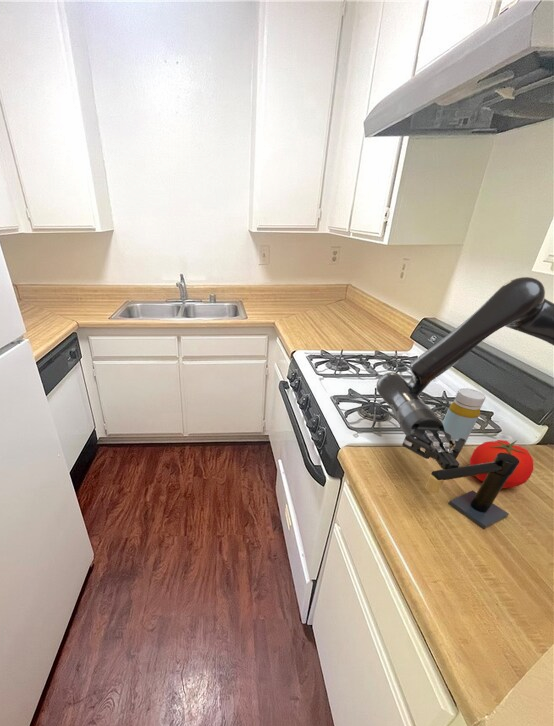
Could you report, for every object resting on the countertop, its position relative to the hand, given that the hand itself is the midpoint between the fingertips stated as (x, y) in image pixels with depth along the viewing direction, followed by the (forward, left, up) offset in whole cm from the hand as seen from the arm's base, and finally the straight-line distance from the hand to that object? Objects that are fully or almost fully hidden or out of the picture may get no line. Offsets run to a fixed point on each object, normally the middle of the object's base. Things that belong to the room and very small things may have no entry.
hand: (452, 468), depth 66 cm
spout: (-3, +2, -3) cm, 5 cm away
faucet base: (-10, +4, -12) cm, 17 cm away
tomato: (-23, -1, -13) cm, 27 cm away
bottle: (-29, -16, -13) cm, 36 cm away
